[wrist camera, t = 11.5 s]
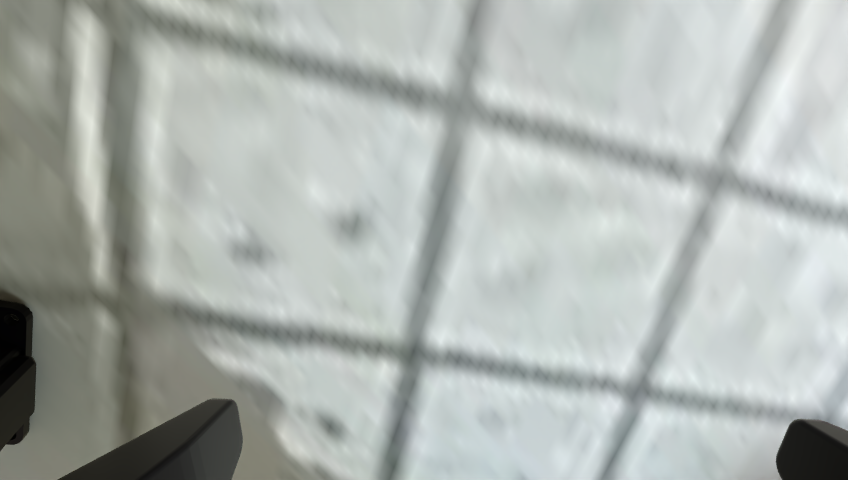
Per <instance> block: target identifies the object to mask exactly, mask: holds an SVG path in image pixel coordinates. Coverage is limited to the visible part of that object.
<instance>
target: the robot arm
mask: <svg viewBox="0 0 848 480" xmlns="http://www.w3.org/2000/svg"><path fill="white" fill-rule="evenodd" d="M11 314H13V315H16V316H17V317H18V319H19V320H15V319H13V318H12V317H11ZM32 328H33V315H32V312H31V311H30V309H29V308H28V307H26V306H25V305H22V304H19V303H14V302H7V301H1V300H0V451H1V449H2V448H3V447H4V446H5V445H6V444H8V445H14V444H17V443H20V442H21V441H22V440H23V439H24V437H25V436H26V435H27V434H28V432H29V418H30V416H31V415H32V414H33V412H34V409H35V382H36V362H35V360H34V358H33V357H32ZM242 443H243V437H242V430H241V424H240V418H239V413H238V407H237V404H236V402H235V401H234V400H232V399H209V400H207V401H205V402H203V403H201V404H199V405H197V406H195V407H193V408H192V409H190V410H188V411H186V412H184V413H182V414H180V415H178V416H177V417H175V418H173V419H171V420H169V421H167V422H165V423H163V424H161V425H160V426H158V427H156V428H154V429H152V430H150V431H148V432H146V433H145V434H143V435H141V436H139V437H137V438H135V439H133V440H131V441H129V442H128V443H126V444H124V445H122V446H120V447H118V448H116V449H114V450H112V451H111V452H109V453H107V454H105V455H103V456H101V457H99V458H97V459H96V460H94V461H92V462H90V463H88V464H86V465H84V466H82V467H80V468H79V469H77V470H75V471H73V472H71V473H69V474H67V475H65V476H64V477H62V478H60V479H58V480H231V479H232V476H233V474H234V471H235V468H236V465H237V462H238V460H239V457H240V454H241V450H242ZM776 465H777V469H778V472H779V474H780V477H781V478H782V480H848V431H847V430H844V429H842V428H840V427H837V426H835V425H832V424H830V423H828V422H825V421H821V420H811V419H797V420H794V421H793V422H792V423H790V425H789V427H788V429H787V432H786V434H785V436H784V439H783V441H782V443H781V446H780V448H779V450H778V453H777V456H776Z"/></svg>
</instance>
